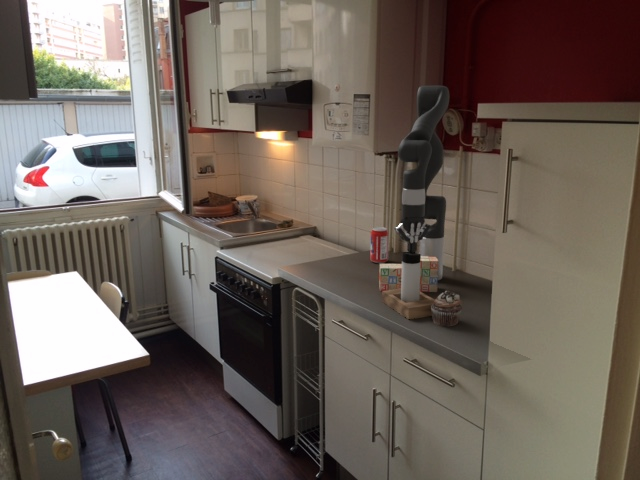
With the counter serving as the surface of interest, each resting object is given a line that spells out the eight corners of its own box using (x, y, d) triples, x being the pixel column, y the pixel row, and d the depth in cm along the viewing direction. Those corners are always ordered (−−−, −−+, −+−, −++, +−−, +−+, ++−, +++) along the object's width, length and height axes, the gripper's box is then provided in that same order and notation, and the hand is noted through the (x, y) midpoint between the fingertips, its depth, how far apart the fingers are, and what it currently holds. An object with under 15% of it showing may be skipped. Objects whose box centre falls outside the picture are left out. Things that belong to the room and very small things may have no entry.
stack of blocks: (379, 291, 206) (380, 260, 203) (378, 286, 212) (379, 255, 209) (437, 292, 205) (438, 260, 202) (434, 286, 211) (436, 256, 208)
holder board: (382, 301, 195) (382, 291, 194) (411, 297, 200) (411, 286, 199) (408, 319, 179) (408, 308, 178) (439, 314, 183) (440, 302, 182)
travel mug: (396, 307, 189) (397, 251, 185) (408, 303, 194) (410, 248, 189) (410, 312, 185) (411, 255, 180) (422, 308, 189) (424, 252, 184)
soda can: (383, 264, 240) (384, 231, 236) (367, 262, 244) (367, 229, 240) (390, 260, 246) (391, 227, 243) (374, 258, 250) (375, 226, 247)
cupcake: (439, 313, 184) (440, 285, 181) (466, 320, 178) (467, 291, 175) (424, 322, 177) (425, 292, 174) (451, 330, 171) (453, 299, 168)
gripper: (424, 198, 186) (422, 248, 190) (390, 201, 181) (388, 252, 186) (437, 202, 179) (434, 253, 184) (401, 205, 175) (400, 257, 179)
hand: (411, 252), depth 185 cm, fingers closed
